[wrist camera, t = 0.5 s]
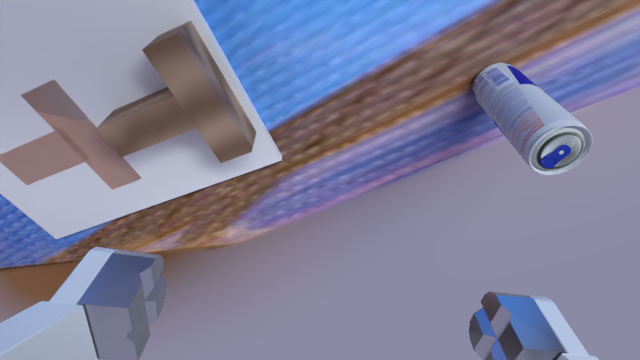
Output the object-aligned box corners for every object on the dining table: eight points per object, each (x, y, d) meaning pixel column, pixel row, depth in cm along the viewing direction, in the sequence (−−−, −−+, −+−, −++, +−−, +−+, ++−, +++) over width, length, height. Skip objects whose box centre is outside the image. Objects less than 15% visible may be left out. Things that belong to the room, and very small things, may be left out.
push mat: (-136, 71, 41) (-145, 75, 40) (145, -87, 33) (140, -87, 32) (60, 234, 57) (56, 239, 56) (282, 156, 48) (281, 160, 48)
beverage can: (489, 109, 45) (553, 186, 33) (460, 87, 43) (517, 159, 31) (524, 76, 42) (607, 145, 30) (495, 51, 40) (571, 114, 28)
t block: (82, 71, 40) (59, 88, 37) (190, 20, 37) (177, 33, 34) (161, 167, 48) (149, 189, 45) (256, 132, 45) (251, 152, 41)
